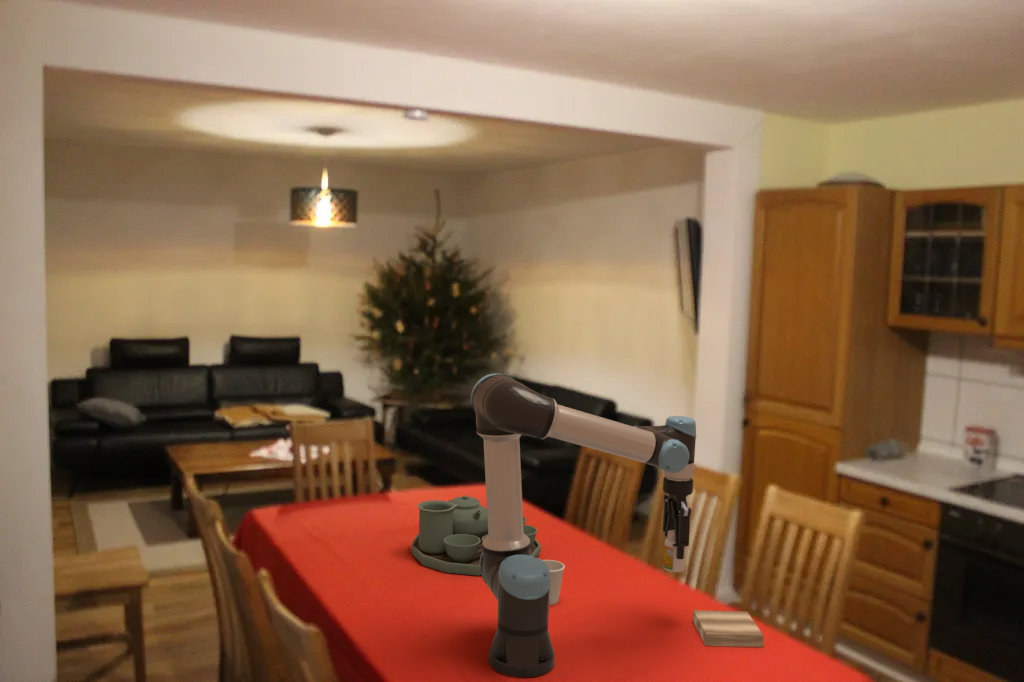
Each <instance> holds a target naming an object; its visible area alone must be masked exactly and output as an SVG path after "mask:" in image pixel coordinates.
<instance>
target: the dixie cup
mask: <svg viewBox="0 0 1024 682" xmlns="http://www.w3.org/2000/svg"><path fill="white" fill-rule="evenodd" d="M541 560H542V561H544V562H545V563H546V564H547V566H548V568H549V571H550V580H551V584H550V594H549V606H552V605H557V604H559V601H560V600H559V599H560V594H561V590H562V589H561V588H562V581H563V576H564V575H563V574H564V570H565V568H566V565H565V564H564V563H563V562H561V561H559V560H552V559H541Z"/></svg>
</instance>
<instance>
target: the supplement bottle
mask: <svg viewBox="0 0 1024 682" xmlns="http://www.w3.org/2000/svg"><path fill="white" fill-rule="evenodd" d="M667 537H668V539H666V538H665V539H664V541H663V542H664V543H663V544H664V546H663V561H662V562H663V563H662V566H663V569H664V570H665V571H667V572H670V573H682V572H683V571H673V570H672V568H673V549H674V547H673V544H675V530H669V531H668V536H667ZM686 548H687V546H685V549H686ZM685 562H686V553H685V554H684V568H685Z"/></svg>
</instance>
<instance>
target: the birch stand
mask: <svg viewBox="0 0 1024 682" xmlns="http://www.w3.org/2000/svg"><path fill="white" fill-rule="evenodd" d="M692 622H693V624H694V627H695V628H696V631H697V633H698V634H699V636H700V639H701V640H702V642H703V644H704V646H707V647H741V648H745V647H747V648H763V646H764V634H763V633H762V631H761V630H760V628H759V627H758V625H757V624H756V622H755V620H754V619H753V618H752V617H751V614H750V612H748V611H738V610H737V611H733V610H732V611H730V610H700V609H699V610H697V609H694V610H693V611H692Z"/></svg>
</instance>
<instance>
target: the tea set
mask: <svg viewBox="0 0 1024 682" xmlns="http://www.w3.org/2000/svg"><path fill="white" fill-rule="evenodd" d="M480 503H481V501H480V500H478V499H477V498H476V497H472V496H467V495H463V496H457V497H454V498H452V499H450V500H448V501H446V500H440V499H439V500H437V499H435V500H433V499H432V500H426V501H422V502H419V503H418V504H417V507H418V509H419V513H418V514H419V515H418V534H416V535H415V537H414V540H413V541H412V543H411V547H410V548H411V550H410V552H411V554H412V555H413V557H414V558H415V559H417V560H418V562H419V563H420V564H421V565H422V566H424V567H428V568H430V569H434V570H437V571H440V572H443V573H447V574H454V573H455V574H457V575H467V576H468V575H469V576H476V577H477V576H479V577H480V575H481V572H480V567H479V562H480V557H481V554H482V552H483V545H482V542H483V540H484V539H485V538H486V537H487V536H488V519H487V507H485V506H483V504H480ZM526 522H527V518H526V517H525V516H523V532H524V534H525V535H526V536H527V537H529V539H530V549H531V556H534V558H539V555H540V554H541V550H542V549H541V548H542V545H541V544H540V543H539V541H538V540H537V538H536V536H537V533H538V531H539V530H538V528H537V527H535V526H532V525H530V524H526Z"/></svg>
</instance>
